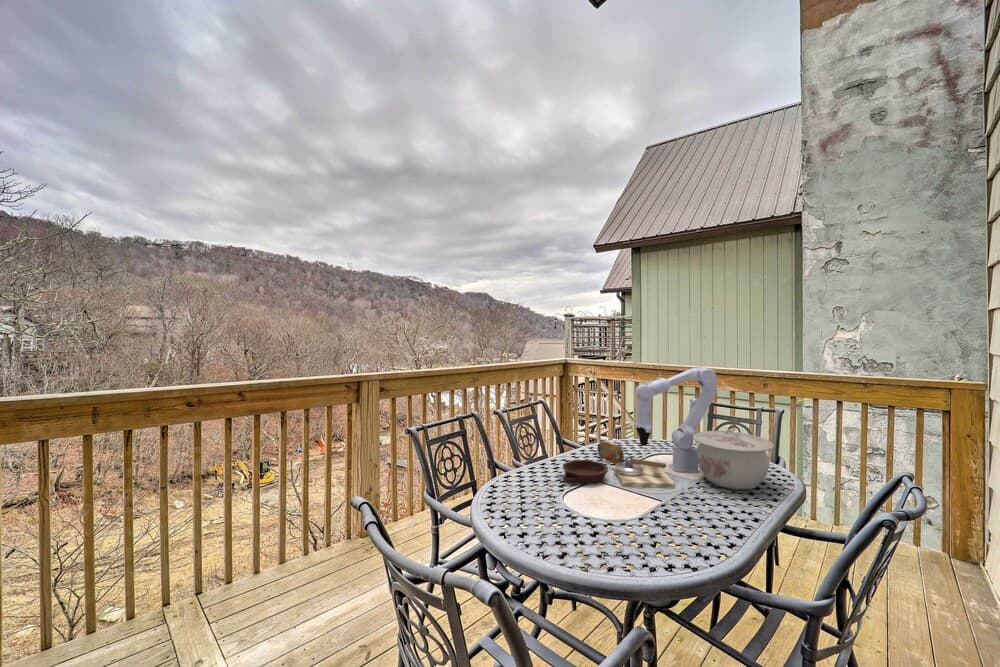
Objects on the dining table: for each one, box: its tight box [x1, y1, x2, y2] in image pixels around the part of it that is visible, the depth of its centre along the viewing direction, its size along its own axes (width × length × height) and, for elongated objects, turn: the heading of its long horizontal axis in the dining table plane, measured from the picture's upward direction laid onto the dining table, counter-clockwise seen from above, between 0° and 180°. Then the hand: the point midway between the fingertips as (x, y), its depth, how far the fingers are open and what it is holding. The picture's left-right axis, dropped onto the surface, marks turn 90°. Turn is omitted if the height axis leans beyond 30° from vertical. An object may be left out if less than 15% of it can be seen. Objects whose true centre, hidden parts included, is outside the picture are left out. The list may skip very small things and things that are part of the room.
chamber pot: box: [693, 429, 775, 491], centre depth 165 cm, size 28×28×21 cm
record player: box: [612, 464, 676, 488], centre depth 171 cm, size 19×20×2 cm
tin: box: [597, 440, 625, 465], centre depth 191 cm, size 15×3×8 cm, turn 25°
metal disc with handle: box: [614, 457, 667, 476], centre depth 172 cm, size 20×11×5 cm, turn 63°
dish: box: [562, 459, 609, 485], centre depth 171 cm, size 18×22×5 cm
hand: (643, 445), depth 183 cm, fingers closed
